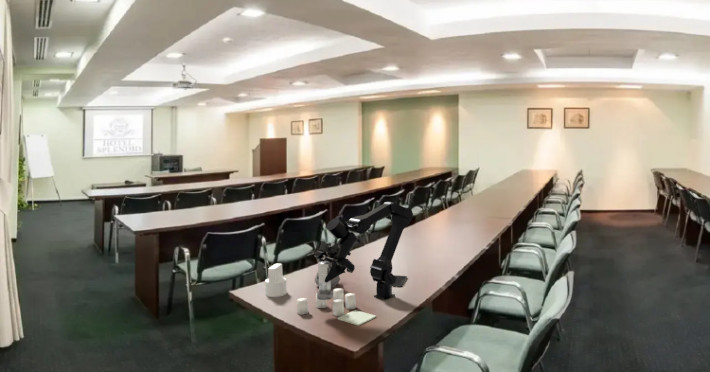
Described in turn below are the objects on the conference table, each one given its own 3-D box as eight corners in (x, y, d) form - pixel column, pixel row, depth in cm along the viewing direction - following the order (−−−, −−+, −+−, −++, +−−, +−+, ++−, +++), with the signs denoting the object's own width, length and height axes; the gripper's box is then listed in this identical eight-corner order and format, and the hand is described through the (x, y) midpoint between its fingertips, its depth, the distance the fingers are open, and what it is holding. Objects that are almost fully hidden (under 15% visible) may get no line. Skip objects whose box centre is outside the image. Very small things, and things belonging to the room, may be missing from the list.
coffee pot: (340, 289, 200) (339, 255, 199) (313, 289, 200) (312, 256, 199) (341, 275, 221) (340, 245, 220) (317, 276, 221) (316, 245, 220)
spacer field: (333, 298, 188) (332, 286, 188) (363, 306, 178) (362, 293, 177) (295, 313, 172) (294, 300, 172) (325, 322, 162) (325, 309, 162)
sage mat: (355, 311, 173) (355, 309, 173) (376, 317, 166) (376, 315, 166) (337, 319, 165) (337, 317, 165) (358, 325, 159) (358, 324, 159)
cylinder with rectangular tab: (282, 297, 191) (281, 269, 190) (262, 296, 193) (261, 268, 192) (289, 290, 200) (288, 263, 198) (270, 289, 201) (269, 263, 200)
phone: (384, 284, 203) (391, 275, 217) (384, 286, 203) (391, 277, 217) (401, 285, 201) (407, 276, 215) (401, 288, 201) (407, 278, 215)
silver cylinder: (324, 293, 173) (322, 259, 172) (336, 296, 170) (335, 261, 168) (313, 298, 168) (312, 263, 167) (326, 301, 165) (325, 265, 164)
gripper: (317, 230, 176) (294, 263, 171) (347, 237, 162) (323, 273, 156) (334, 246, 182) (312, 279, 176) (364, 254, 168) (342, 290, 162)
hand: (321, 280), depth 167 cm, fingers closed on silver cylinder, 4 cm apart
